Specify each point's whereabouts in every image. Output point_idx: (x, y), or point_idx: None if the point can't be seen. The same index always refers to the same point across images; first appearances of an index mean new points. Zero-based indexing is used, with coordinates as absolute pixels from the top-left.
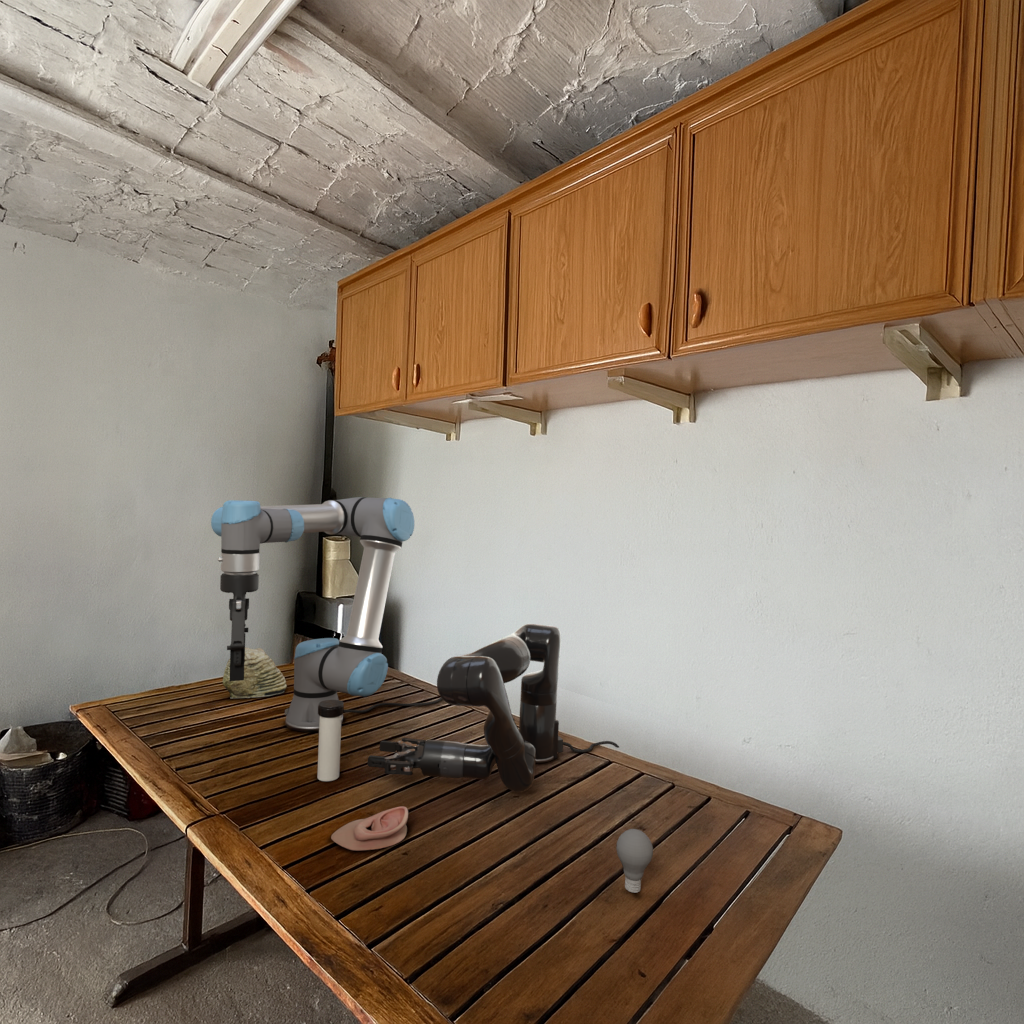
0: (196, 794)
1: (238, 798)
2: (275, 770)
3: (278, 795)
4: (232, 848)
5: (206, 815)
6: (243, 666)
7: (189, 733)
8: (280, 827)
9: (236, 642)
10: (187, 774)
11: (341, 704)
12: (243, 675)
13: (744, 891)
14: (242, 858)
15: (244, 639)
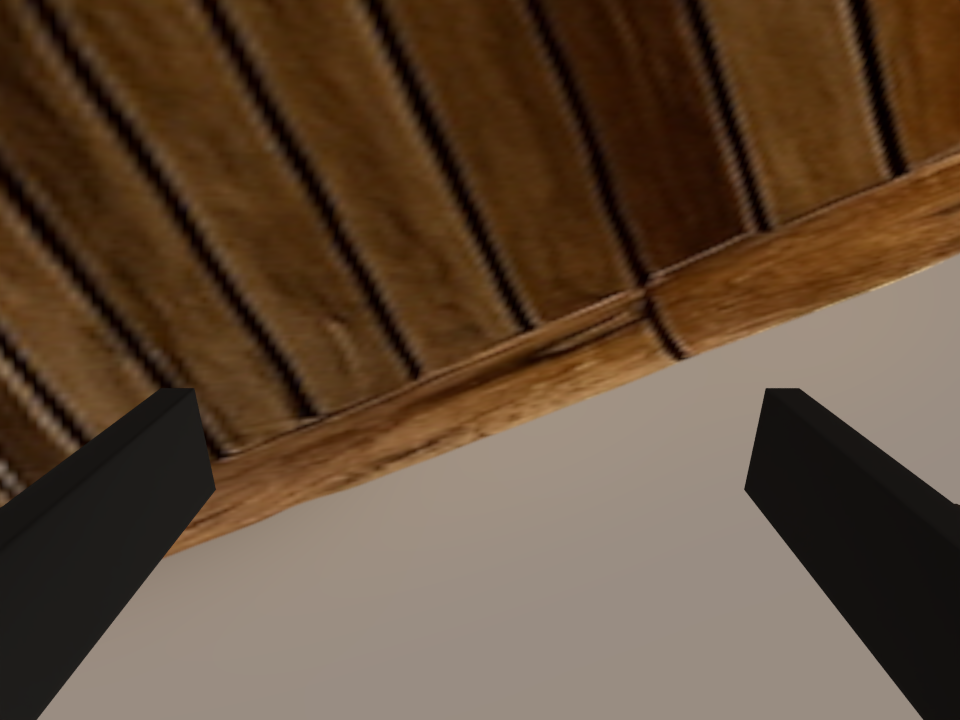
0: (499, 353)
1: (566, 238)
2: (380, 113)
3: (589, 110)
4: (859, 248)
5: (641, 320)
6: (888, 463)
7: (9, 405)
8: (811, 112)
9: (67, 618)
10: (352, 385)
11: None
12: (824, 413)
13: None
14: (925, 222)
15: (2, 562)
